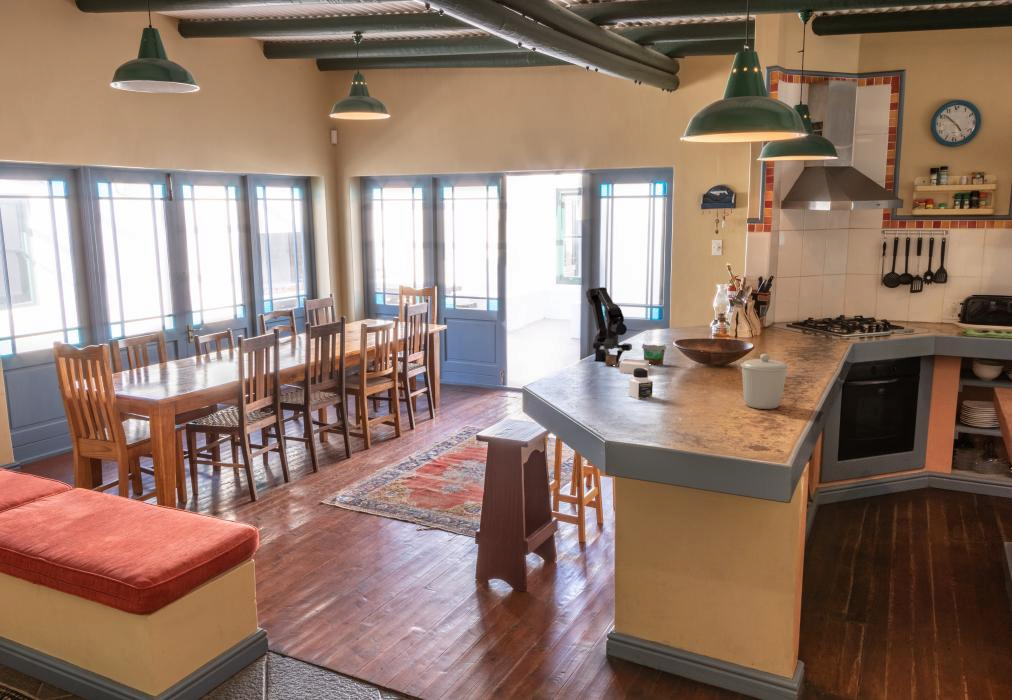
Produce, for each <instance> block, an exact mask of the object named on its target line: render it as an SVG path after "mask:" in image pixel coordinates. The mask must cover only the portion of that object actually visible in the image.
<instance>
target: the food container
mask: <svg viewBox="0 0 1012 700" xmlns="http://www.w3.org/2000/svg"><path fill="white" fill-rule="evenodd" d="M641 348H642V351H643V360H648V361H649V364H651V365H650V366H660V365H659V364H662V365H663V364H664V357H665V352H666V351H665V350H667V346H666V344H664V345H663V344H662V345H656V344H645V343H643V344H642V346H641Z"/></svg>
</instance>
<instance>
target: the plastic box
mask: <svg viewBox="0 0 1012 700" xmlns="http://www.w3.org/2000/svg"><path fill="white" fill-rule="evenodd" d="M618 368H619V372H624V373H623V374H628V373H634V369H636V368H646V369H648V371H649V370H650V365H649V361H648V360H644V359H631V358H630V359H628V358H624V359H623V360H622V361H620V362H619V367H618Z"/></svg>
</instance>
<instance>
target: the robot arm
mask: <svg viewBox="0 0 1012 700" xmlns="http://www.w3.org/2000/svg"><path fill="white" fill-rule="evenodd" d="M585 292H586V293H585V295H586V298H587V301H588V303H589V305H591V307H592V312H593V317H594V322H595V327H596V333H595V336H594V338H595V339H594V341H593V343H592V349H594V350H595V351H594V352H595V355H594V356H595V358H594V359H593V361H594V362H603V361H606V355H608V354H611V352H610V350H614V349H618V350H616V355H617V360H616V362H617V364H618V365H619V361H620V359H621V357H622V354H623V353H625V351H626V352H628V351H632V349H633V345H632V343H625V342H624V343H623V344H619V336H623V335H625V334H626V332H627V330H628V329H627V326H626V324H624V322H625V316H624V314H623V312H622V309H621V308H620V306H619V304H617V303H614V301H613V299H612V298H611V296H610V294H609V293H608V291H607V288H606V287H604V286H601V287H596V288H588V289H587V290H586V291H585ZM603 307H604V310H603ZM605 318H606V321H605Z"/></svg>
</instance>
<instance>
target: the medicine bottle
mask: <svg viewBox="0 0 1012 700" xmlns="http://www.w3.org/2000/svg"><path fill="white" fill-rule="evenodd" d="M632 377H633V378H631V379H628V397H630V396H632V397H631V398H633V397H634V398H633V399H636V398H637V399H636V400H641V399H640V398H646V399H648V398H647V397H652V398H653V384H654V383H653V380H650V379H649V370H648V369H646V368H636V369H634V374H633V376H632Z"/></svg>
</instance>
